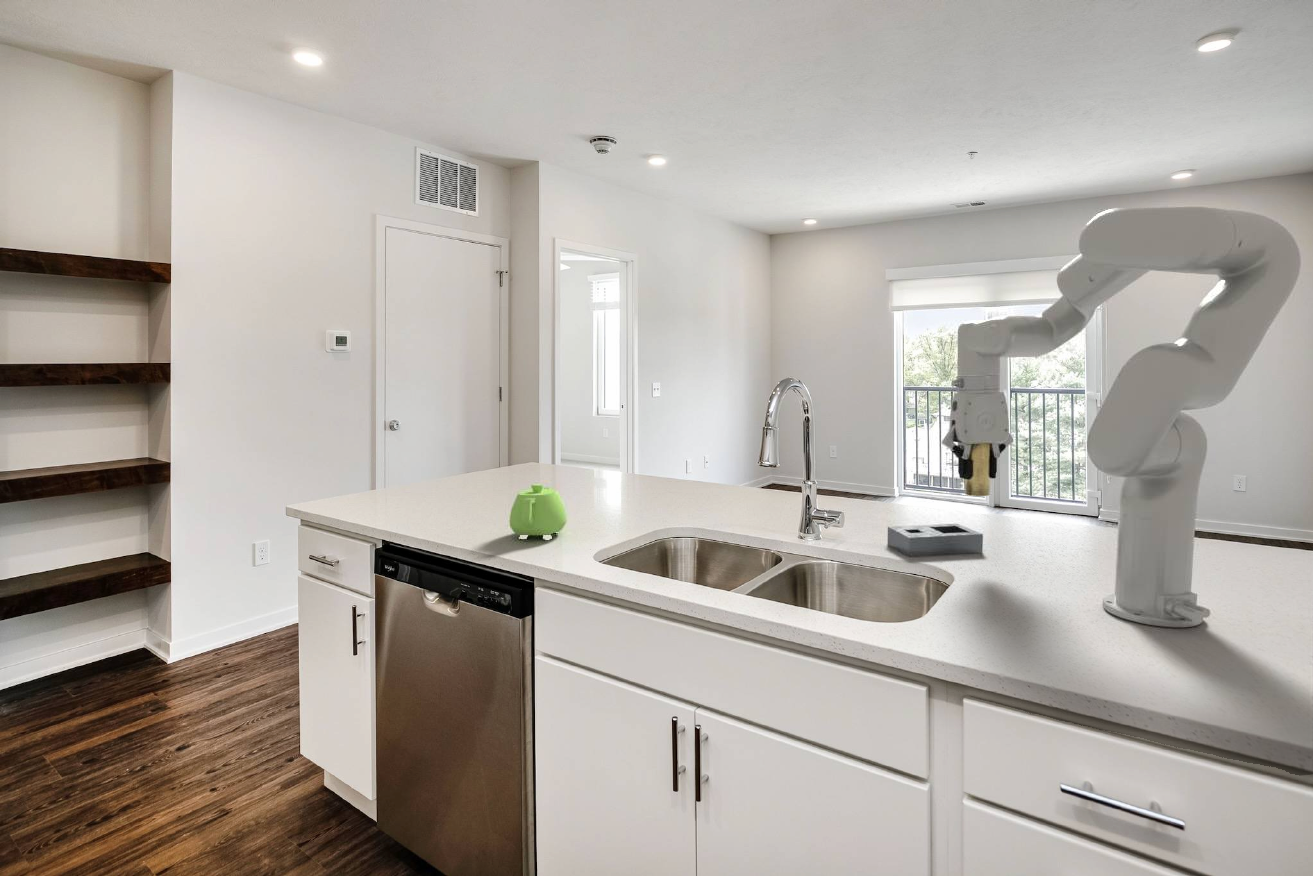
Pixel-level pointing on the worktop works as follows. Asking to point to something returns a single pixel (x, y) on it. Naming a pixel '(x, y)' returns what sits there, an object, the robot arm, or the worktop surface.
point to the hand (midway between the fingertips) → (977, 477)
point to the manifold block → (935, 540)
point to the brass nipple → (979, 471)
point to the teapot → (538, 512)
